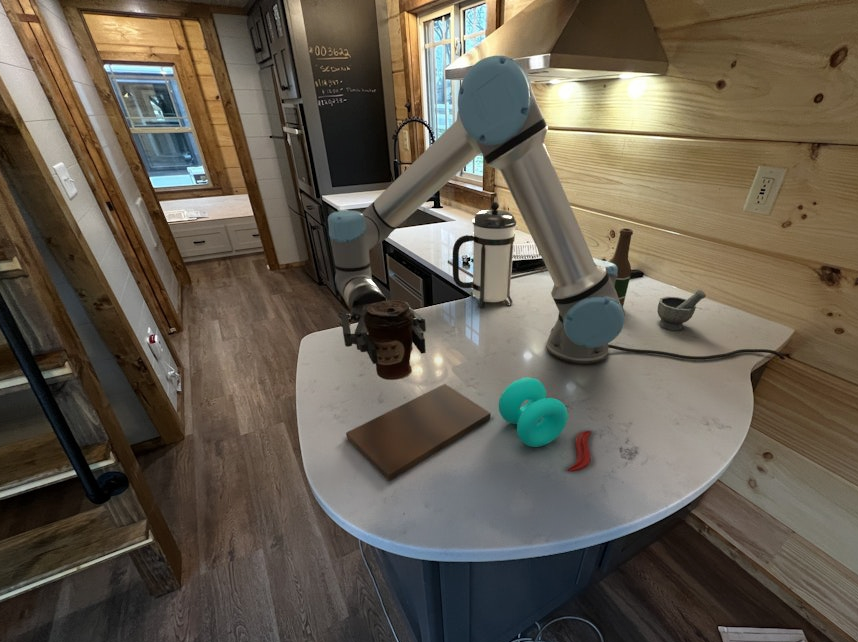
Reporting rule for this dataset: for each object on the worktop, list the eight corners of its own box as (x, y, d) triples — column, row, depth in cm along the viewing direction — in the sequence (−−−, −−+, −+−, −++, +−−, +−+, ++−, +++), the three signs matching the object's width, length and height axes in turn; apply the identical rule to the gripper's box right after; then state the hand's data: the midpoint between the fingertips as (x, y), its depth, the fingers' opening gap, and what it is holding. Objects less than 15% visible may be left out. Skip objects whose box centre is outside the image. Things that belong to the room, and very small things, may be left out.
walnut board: (445, 389, 89) (444, 383, 88) (490, 418, 81) (490, 413, 80) (347, 438, 75) (345, 432, 74) (389, 481, 67) (388, 474, 66)
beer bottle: (625, 306, 129) (644, 228, 116) (618, 315, 123) (637, 234, 110) (601, 301, 132) (616, 225, 119) (593, 309, 126) (609, 230, 113)
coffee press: (482, 287, 141) (485, 195, 125) (522, 298, 133) (530, 201, 117) (451, 303, 129) (450, 203, 113) (493, 316, 121) (499, 210, 105)
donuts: (519, 456, 72) (524, 412, 66) (494, 423, 80) (497, 381, 74) (566, 441, 75) (574, 398, 70) (538, 411, 83) (543, 369, 77)
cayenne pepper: (579, 476, 68) (581, 468, 67) (555, 464, 70) (556, 456, 69) (607, 439, 76) (609, 431, 75) (584, 429, 78) (585, 421, 77)
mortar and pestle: (647, 324, 118) (658, 285, 111) (660, 315, 123) (671, 277, 117) (686, 337, 111) (700, 296, 105) (699, 327, 117) (713, 287, 110)
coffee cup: (408, 388, 70) (401, 320, 63) (363, 382, 71) (352, 315, 64) (423, 362, 77) (419, 299, 70) (382, 357, 79) (374, 294, 71)
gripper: (413, 310, 90) (456, 357, 73) (318, 327, 82) (340, 384, 65) (411, 277, 86) (455, 319, 68) (311, 292, 78) (332, 343, 61)
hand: (399, 351), depth 67 cm, fingers closed on coffee cup, 8 cm apart
